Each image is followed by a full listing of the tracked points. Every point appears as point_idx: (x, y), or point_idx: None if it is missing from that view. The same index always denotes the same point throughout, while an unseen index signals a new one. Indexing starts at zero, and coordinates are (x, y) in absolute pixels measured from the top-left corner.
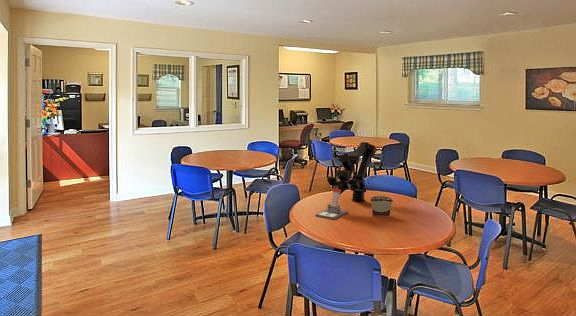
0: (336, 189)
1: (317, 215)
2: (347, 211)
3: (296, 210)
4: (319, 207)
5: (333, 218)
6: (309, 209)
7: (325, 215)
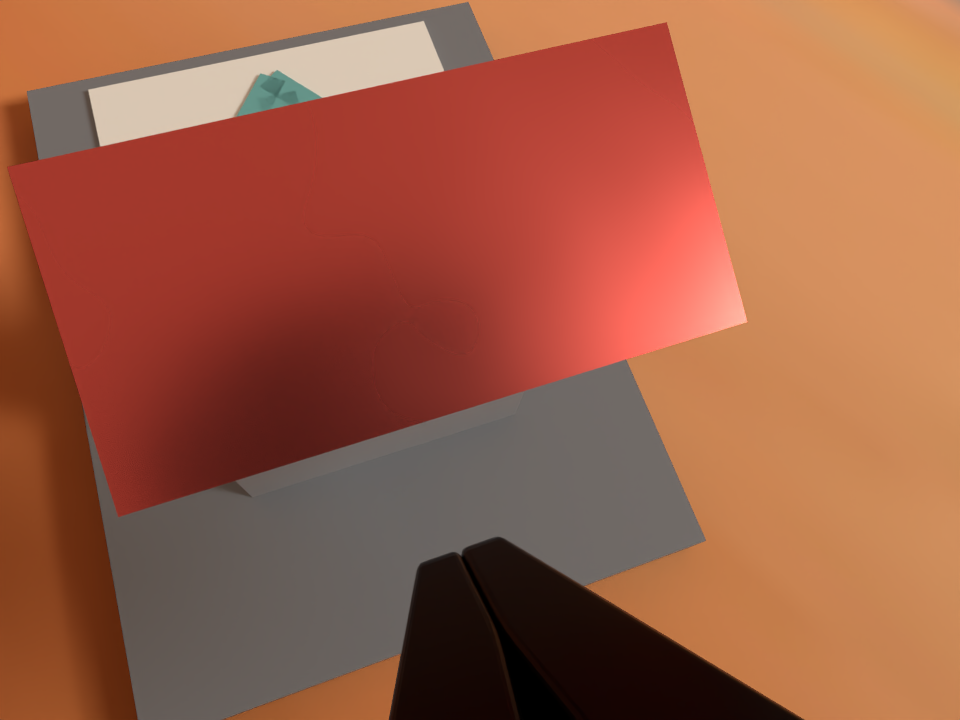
0: (338, 115)
1: (425, 22)
2: (139, 712)
3: (944, 32)
4: (950, 485)
5: (68, 96)
6: (902, 224)
7: (272, 62)
